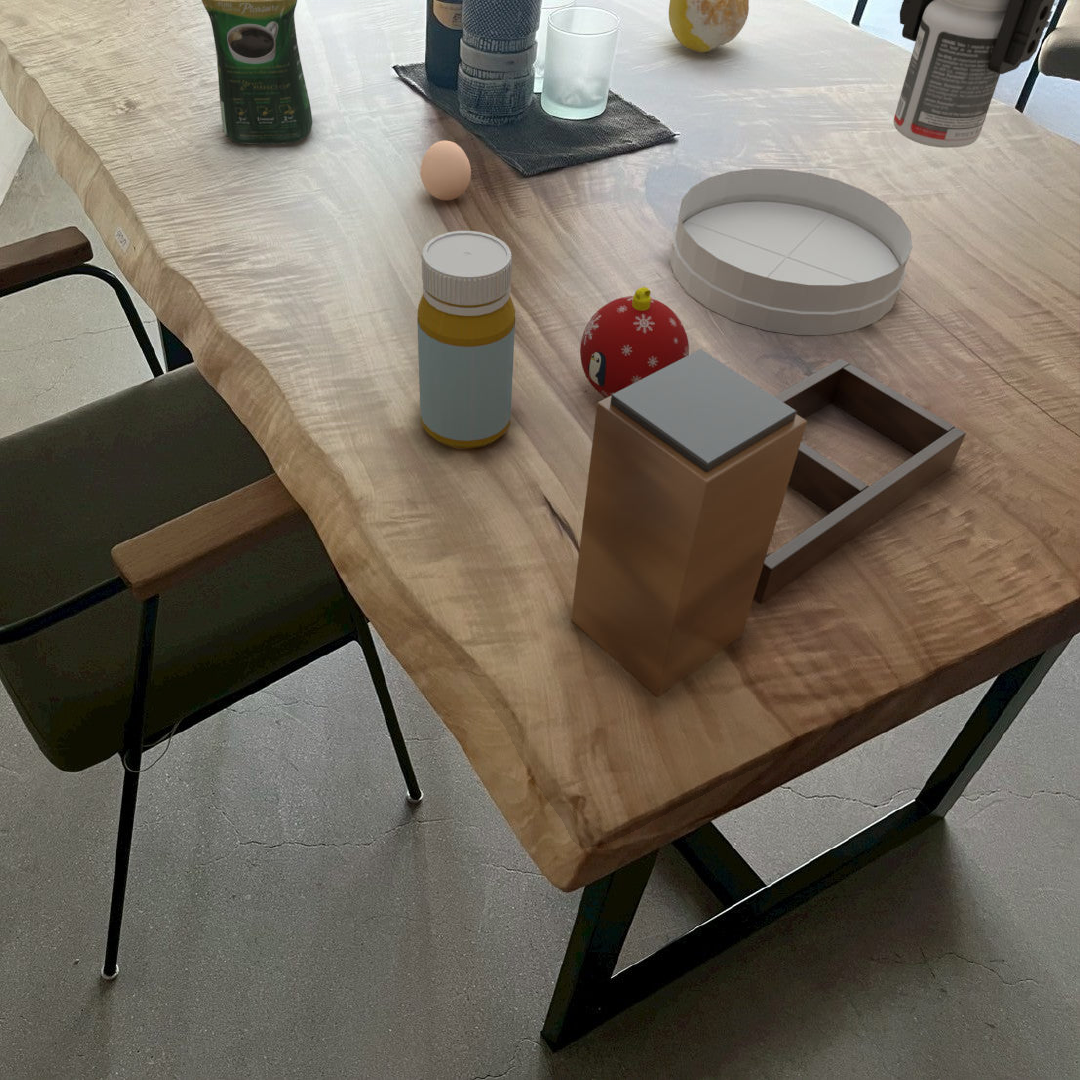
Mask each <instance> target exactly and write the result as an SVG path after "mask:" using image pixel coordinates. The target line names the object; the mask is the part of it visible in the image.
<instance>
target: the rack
mask: <svg viewBox="0 0 1080 1080" xmlns="http://www.w3.org/2000/svg"><path fill="white" fill-rule="evenodd" d="M773 396H774V397H776V398H777V399H779V400H780V401H782V402H784V403H785V404H787V405H788V406H790V407H791V408H793V409H794V410H796V411H797V413H796V414H797V415H799V416H800V417H802V418H803V419H806V418H808V417H809V416H811V415H813V414H814V413H816V412H818V411H819V410H821V409H823V408H825V407H826V406H828V405H829V404H831V403H832V404H835V405H836V406H837V407H839V408H841V409H842V410H844V411H845V412H847V413H848V414H850V415H852V416H854V417H855V418H856V419H858V420H860V421H862V422H863V423H865V424H866V425H867V426H869V427H871V428H873V429H874V430H876V431H877V432H879V433H880V434H882V435H884V436H886V437H887V438H888V439H890V440H892V441H893V442H895V443H896V444H897V445H900V446H901V447H902V448H905V449H906V450H908V451H909V452H911V453H913V454H914V455H912V456H911V457H910V458H908V459H907V460H905V461H904V462H902V463H901V464H899V465H898V466H897V467H894V469H891V471H889V472H888V473H887V474H885V475H884V476H882V477H880V478H879V479H878V480H875V482H873V483H872V484H871V485H868V484H867V483H865V482H864V481H863V480H861V479H859V478H858V477H856V476H855V475H853V474H852V473H851V472H849V471H848V470H846V469H845V468H843V467H841V466H840V465H838V464H837V463H835V462H833V461H832V460H831V459H829V458H827V457H826V456H825V455H823V454H822V453H820V452H818V451H817V450H816V449H814V448H813V447H811V446H810V445H808V444H807V443H806V442H803V441H801V444H800V447H799V450H798V454H797V457H796V460H795V463H794V467H793V470H792V473H791V476H790V480H789V483H788V486H790V487H791V488H792V489H794V490H795V491H797V492H798V493H800V494H801V495H803V496H804V498H807V499H808V500H810V501H811V502H813V503H814V504H816V505H817V506H819V507H820V508H821V509H823V510H824V511H826V512H827V513H828V514H827V515H825V516H824V517H823V518H821V519H820V520H818V521H816V522H815V523H813V524H812V525H811V526H809V527H808V528H807V529H805V530H804V531H802V532H800V533H799V534H797V535H796V536H795V537H793V538H792V539H791V540H789V541H788V542H786V543H784V544H783V545H782V546H780V547H779V548H778V549H776V550H774V551H773V552H772V553H770V554H769V552H767V555H766V558H765V561H764V565H763V568H762V571H761V574H760V578H759V581H758V584H757V588H756V591H755V594H754V597H753V601H756V602H757V603H758V604H759V605H762V604H763V603H765V602H766V601H767V600H769V599H770V598H771V597H773V596H774V595H776V594H777V593H778V592H780V591H782V589H784V588H785V587H787V586H788V585H789V584H791V583H792V582H793V581H795V580H796V579H798V578H799V577H801V576H802V575H804V574H805V573H806V572H808V571H809V570H810V569H812V568H814V567H815V566H816V565H817V564H819V563H821V562H822V561H823V560H825V559H826V558H827V557H828V556H830V555H831V554H832V553H834V552H835V551H837V550H839V549H840V548H841V547H843V546H844V545H845V544H846V543H848V542H849V541H851V540H852V539H853V538H855V537H856V536H858V535H859V534H860V533H862V532H863V531H864V530H866V529H867V528H869V527H871V526H872V525H873V524H875V522H878V520H880V519H881V518H882V517H884V516H886V515H887V514H888V513H889V512H891V511H893V510H894V509H895V508H897V507H898V506H899V505H900V504H902V503H904V502H905V501H906V500H908V499H909V498H910V497H912V496H914V494H916V493H917V492H919V491H920V490H921V489H923V488H924V487H926V486H927V485H929V484H930V483H931V482H932V481H934V480H935V479H937V478H938V477H940V476H941V475H942V474H944V473H945V472H947V471H948V470H949V469H951V468H952V466H953V464H954V462H955V460H956V458H957V455H958V453H959V451H960V449H961V446H962V445H963V442H964V439H965V437H966V435H967V432H965V431H963V430H961V429H960V428H958V427H957V426H955V425H953V424H952V423H951V422H949V421H947V420H945V419H943V418H942V417H940V416H939V415H937V414H935V413H933V412H932V411H930V410H928V409H926V408H925V407H924V406H922V405H920V404H918V403H916V402H915V401H913V400H911V399H910V398H908V397H907V396H905V395H903V394H901V392H898V391H897V390H895V389H893V388H892V387H890V386H888V385H887V384H885V383H883V382H881V381H879V380H878V379H877V378H874V377H873V376H871V375H870V374H868V373H866V372H865V371H863V370H861V369H860V368H858V367H856V366H855V365H853V364H851V363H850V362H848V361H847V360H845V359H842V358H841V357H840V358H838V359H836V360H835V361H833V362H831V363H829V364H827V365H825V366H824V367H822V368H820V369H819V370H816V371H815V372H813V373H812V374H810V375H809V376H807V377H805V378H803V379H801V380H800V381H798V382H796V383H794V384H792V385H791V386H789V387H787V388H785V389H784V390H782V391H781V392H779V393H777V394H776V395H773Z"/></svg>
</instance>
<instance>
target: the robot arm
mask: <svg viewBox="0 0 1080 1080" xmlns="http://www.w3.org/2000/svg"><path fill="white" fill-rule="evenodd" d="M932 1H934V0H902V3H901V6H900V10H899V24H900V25H903V27H902V31H901V35H902V38H904V39H906V40H910V41H911V42H916V39H917V35H918V31H919V28H920V24H921V20H922V17H923V14H924V11H925V9H926V7H927V6H928V5H929V4H930V3H931V2H932ZM1055 2H1056V0H1010V2H1009V5H1008V7H1007V10H1006V13H1005V16H1004V19H1003V22H1002V25H1001V28H1000V31H999V34H998V37H997V40H996V43H995V46H994V49H993V52H992V54H991V57H990V60H989V64H988V69H989V70H991V71H994V72H996V73H999V74H1000V75H1004V74H1007V73H1009V72H1012V71H1015V70H1017V69H1018V68H1019V67H1020V66H1021V64H1022V63H1025V62H1028V61H1030V59H1031V58H1032V57H1033V56H1034V55H1035V53H1036V52H1037V50H1038V47H1039V44H1040V42H1041V39H1042V36H1043V34H1044V30H1045V28H1046V25H1047V24H1048V20H1049V18H1050V15H1051V12H1052V9H1053V7H1054V5H1055Z"/></svg>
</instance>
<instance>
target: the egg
mask: <svg viewBox="0 0 1080 1080" xmlns="http://www.w3.org/2000/svg"><path fill="white" fill-rule="evenodd" d="M471 177H472V169H471V163H470V160H469V158H468V156H467V154H466V153H465V151H464V150H463V148H462V147H461V146H460V145H459V144H457V143H456V142H453V141H451V140H439V141H436V142H435V143H434V144H432V145H430V147H428V149H427V150H426V152H425V153H424V155H423V157H422V160H421V164H420V179H421V182H422V185H423V187H424V189H425V190H426V192H428V193H429V195H430V196H432V197H434V198H435V199H438V200H440V201H441V200H442V201H452V200H455V199H458V198H459V197H460V196H462V195H463V194H464V193H465V192H466V190H467V189H468V187H469V185H470V184H471Z"/></svg>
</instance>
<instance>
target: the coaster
mask: <svg viewBox="0 0 1080 1080" xmlns="http://www.w3.org/2000/svg"><path fill="white" fill-rule="evenodd" d="M774 396H775V395H772V394H771V393H770V392H768V391H767V390H765V389H763V388H762V387H761V386H759V385H757V384H755V383H754V382H752V381H751V380H749V379H748V378H746V377H745V376H744V375H742V374H740V373H738V372H737V371H735V370H734V369H732V368H731V367H729V366H728V365H726V364H725V363H724V362H722V361H720V360H719V359H717V358H715V357H714V356H712V355H711V354H709V353H707V352H706V351H705V350H703V349H702V348H700V349H698V350H695V351H694V352H692V353H689V355H688V356H686V357H684V358H682V359H680V360H678V361H676V362H674V363H672V364H670V365H668V366H667V367H665V368H663V369H661V370H659V371H657V372H655V373H653V374H651V375H649V376H647V377H645V378H643V379H641V380H639V381H637V382H635V383H633V384H631V385H629V386H628V387H626V388H624V389H622V390H620V391H618V392H616V393H614V394H612V395H611V404H612V405H614V406H615V407H617V408H618V409H619V410H621V411H622V412H623V413H625V414H626V415H628V416H629V417H630V418H632V419H633V420H635V421H636V422H637V423H639V424H640V425H641V426H643V427H644V428H646V429H647V430H648V431H650V432H651V433H653V434H654V435H655V436H657V437H658V438H659V439H661V440H662V441H664V442H665V443H666V444H668V445H669V446H671V447H672V448H673V449H675V450H676V451H677V452H679V453H680V454H682V455H683V456H684V457H686V458H687V459H689V460H690V461H691V462H693V463H694V464H695V465H697V466H698V467H700V468H701V469H702V470H704V471H705V472H708V471H709V470H711V469H713V468H714V467H716V466H718V465H719V464H721V463H723V462H724V461H726V460H728V459H729V458H731V457H733V456H734V455H736V454H738V453H739V452H741V451H743V450H744V449H746V448H748V447H749V446H751V445H753V444H754V443H756V442H758V441H759V440H761V439H763V438H764V437H766V436H768V435H769V434H771V433H773V432H774V431H776V430H778V429H779V428H781V427H783V426H784V425H786V424H788V423H789V422H791V421H793V420H794V419H795V416H796V413H797V411H796V410H794V409H793V408H791V407H790V406H788V405H787V404H785V403H784V402H782V401H780V400H779V399H777V398H776V397H774Z"/></svg>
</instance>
